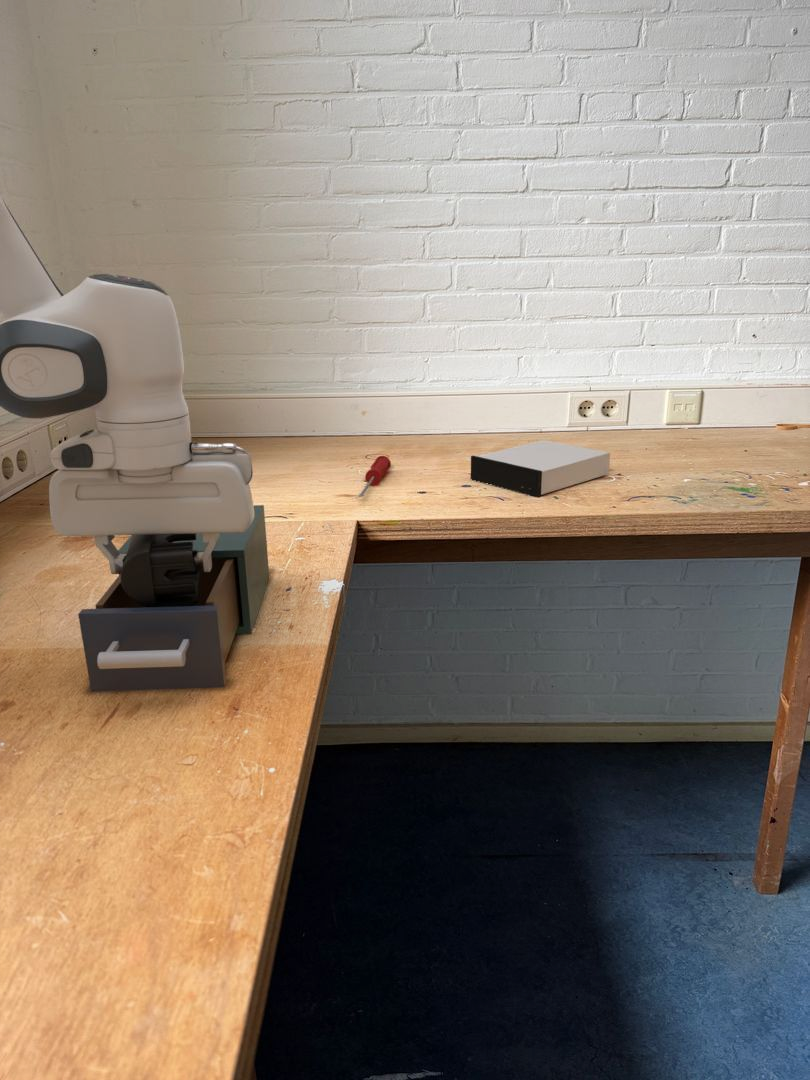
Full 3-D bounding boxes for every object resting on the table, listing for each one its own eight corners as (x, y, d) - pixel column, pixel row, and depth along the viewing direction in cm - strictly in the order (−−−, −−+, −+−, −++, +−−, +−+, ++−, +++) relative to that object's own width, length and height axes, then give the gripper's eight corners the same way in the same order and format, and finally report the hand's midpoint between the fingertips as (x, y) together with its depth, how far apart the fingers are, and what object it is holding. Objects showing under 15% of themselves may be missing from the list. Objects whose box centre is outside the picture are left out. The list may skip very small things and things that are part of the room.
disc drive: (470, 479, 161) (470, 455, 159) (541, 460, 175) (542, 438, 173) (538, 497, 148) (539, 471, 147) (609, 475, 162) (611, 451, 161)
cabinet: (251, 633, 96) (244, 549, 93) (127, 637, 96) (115, 553, 92) (269, 577, 113) (263, 505, 109) (164, 580, 113) (155, 507, 109)
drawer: (216, 711, 78) (208, 629, 75) (76, 715, 78) (61, 633, 75) (248, 619, 98) (242, 551, 95) (136, 623, 97) (126, 554, 94)
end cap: (135, 578, 90) (127, 521, 88) (199, 573, 91) (194, 517, 89) (124, 615, 81) (116, 552, 78) (197, 608, 82) (190, 547, 80)
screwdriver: (351, 505, 146) (350, 486, 144) (375, 470, 169) (374, 454, 168) (370, 506, 145) (369, 487, 144) (391, 471, 168) (391, 454, 167)
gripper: (254, 435, 84) (263, 558, 88) (57, 438, 83) (76, 562, 88) (245, 449, 78) (255, 580, 82) (33, 452, 77) (55, 584, 82)
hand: (161, 571), depth 85 cm, fingers closed on end cap, 7 cm apart
